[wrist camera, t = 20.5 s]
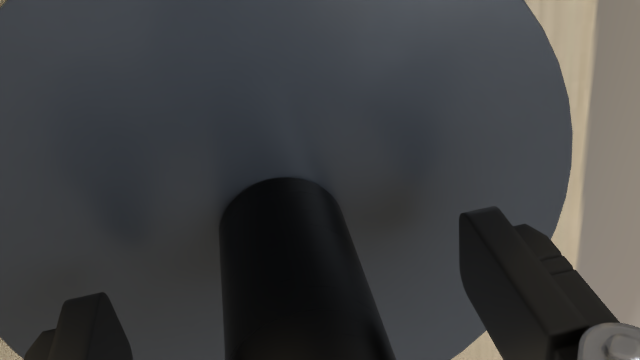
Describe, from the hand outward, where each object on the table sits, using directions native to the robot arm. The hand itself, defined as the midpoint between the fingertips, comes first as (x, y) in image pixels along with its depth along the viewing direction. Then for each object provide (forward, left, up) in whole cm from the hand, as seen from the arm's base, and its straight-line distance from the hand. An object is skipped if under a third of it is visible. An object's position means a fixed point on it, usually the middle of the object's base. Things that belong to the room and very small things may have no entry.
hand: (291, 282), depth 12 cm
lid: (0, 0, -2) cm, 2 cm away
